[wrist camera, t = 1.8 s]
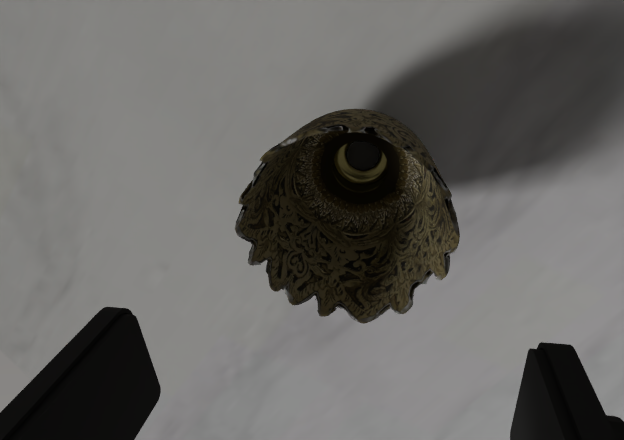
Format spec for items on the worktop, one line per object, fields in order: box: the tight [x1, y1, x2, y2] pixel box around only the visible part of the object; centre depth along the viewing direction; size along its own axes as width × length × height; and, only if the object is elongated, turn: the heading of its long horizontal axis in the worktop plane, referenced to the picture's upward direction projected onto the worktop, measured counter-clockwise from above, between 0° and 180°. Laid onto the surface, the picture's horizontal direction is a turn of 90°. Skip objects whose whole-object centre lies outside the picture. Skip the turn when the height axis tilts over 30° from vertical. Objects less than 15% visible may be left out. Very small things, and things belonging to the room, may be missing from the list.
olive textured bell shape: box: [235, 109, 460, 323], centre depth 17 cm, size 8×7×8 cm
